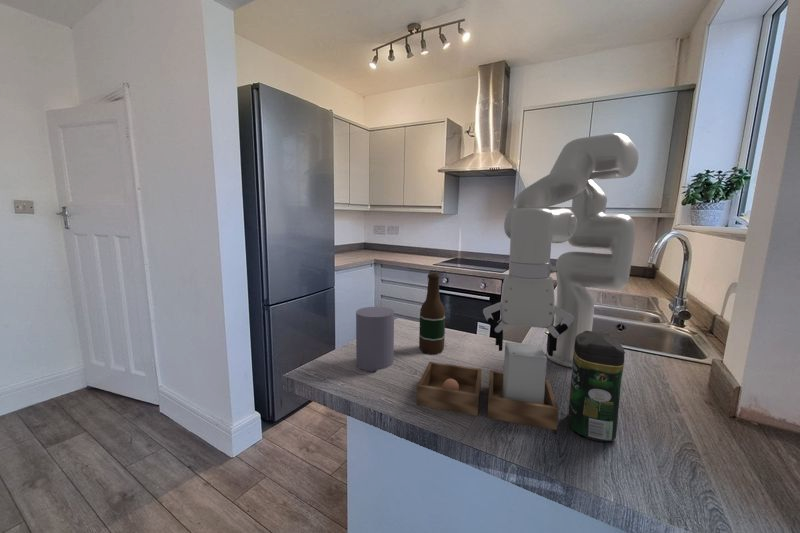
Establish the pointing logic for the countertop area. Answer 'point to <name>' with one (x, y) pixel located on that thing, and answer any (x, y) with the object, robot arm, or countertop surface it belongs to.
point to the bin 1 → (446, 399)
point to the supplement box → (524, 373)
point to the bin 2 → (521, 406)
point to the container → (374, 338)
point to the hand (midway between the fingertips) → (524, 351)
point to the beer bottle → (432, 319)
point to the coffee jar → (596, 385)
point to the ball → (451, 384)
